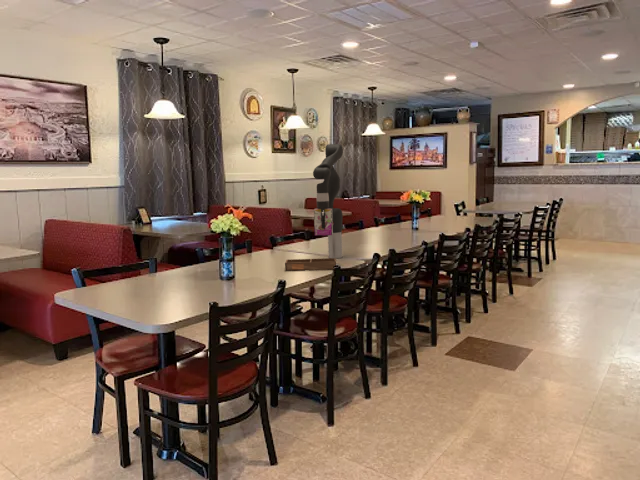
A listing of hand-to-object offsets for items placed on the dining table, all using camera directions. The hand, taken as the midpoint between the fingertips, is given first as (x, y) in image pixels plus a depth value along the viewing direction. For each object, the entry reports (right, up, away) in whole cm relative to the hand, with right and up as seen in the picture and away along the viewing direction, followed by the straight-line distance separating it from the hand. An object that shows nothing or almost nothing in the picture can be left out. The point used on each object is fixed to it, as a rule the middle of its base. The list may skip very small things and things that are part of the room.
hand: (323, 227), depth 311 cm
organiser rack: (-8, -25, -7) cm, 27 cm away
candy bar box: (0, -5, +1) cm, 5 cm away
